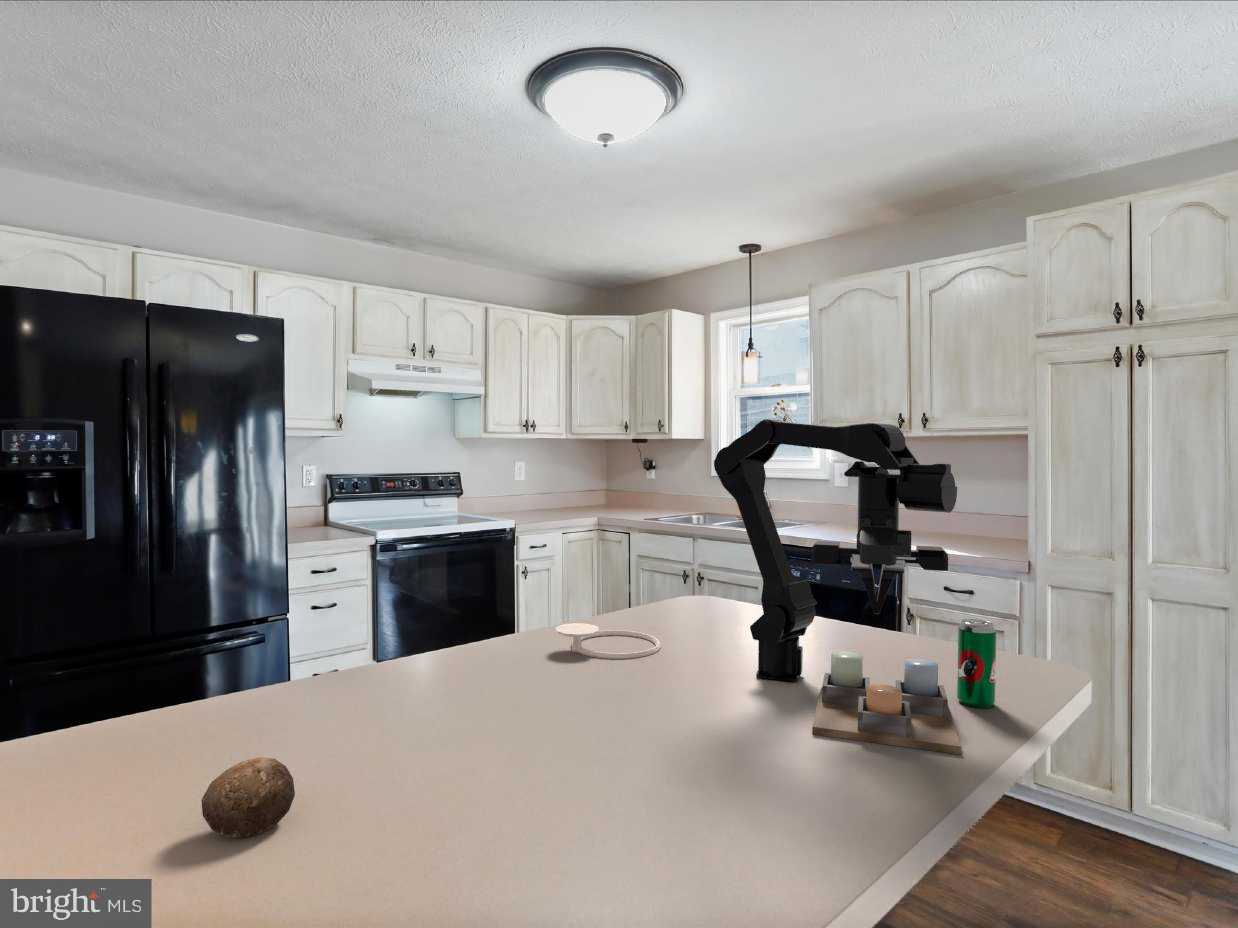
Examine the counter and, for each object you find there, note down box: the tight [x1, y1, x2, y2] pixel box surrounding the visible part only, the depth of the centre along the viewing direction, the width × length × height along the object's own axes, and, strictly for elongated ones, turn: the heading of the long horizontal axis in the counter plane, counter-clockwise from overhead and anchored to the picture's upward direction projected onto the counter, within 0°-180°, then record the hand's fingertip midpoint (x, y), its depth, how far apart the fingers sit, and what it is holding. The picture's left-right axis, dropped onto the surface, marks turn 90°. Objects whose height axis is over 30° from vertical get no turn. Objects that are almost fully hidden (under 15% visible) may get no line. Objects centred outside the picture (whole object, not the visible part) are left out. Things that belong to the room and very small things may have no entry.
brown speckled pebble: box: [200, 756, 296, 839], centre depth 70 cm, size 8×8×6 cm
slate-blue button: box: [903, 657, 939, 696], centre depth 101 cm, size 4×4×4 cm
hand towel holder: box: [555, 622, 662, 660], centre depth 134 cm, size 17×4×20 cm
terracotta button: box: [866, 683, 902, 716], centre depth 94 cm, size 4×4×4 cm
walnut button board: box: [811, 672, 962, 755], centre depth 98 cm, size 18×16×3 cm
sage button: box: [830, 650, 864, 688], centre depth 104 cm, size 4×4×4 cm
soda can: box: [956, 618, 997, 709], centre depth 105 cm, size 5×5×12 cm
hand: (876, 613), depth 106 cm, fingers closed
